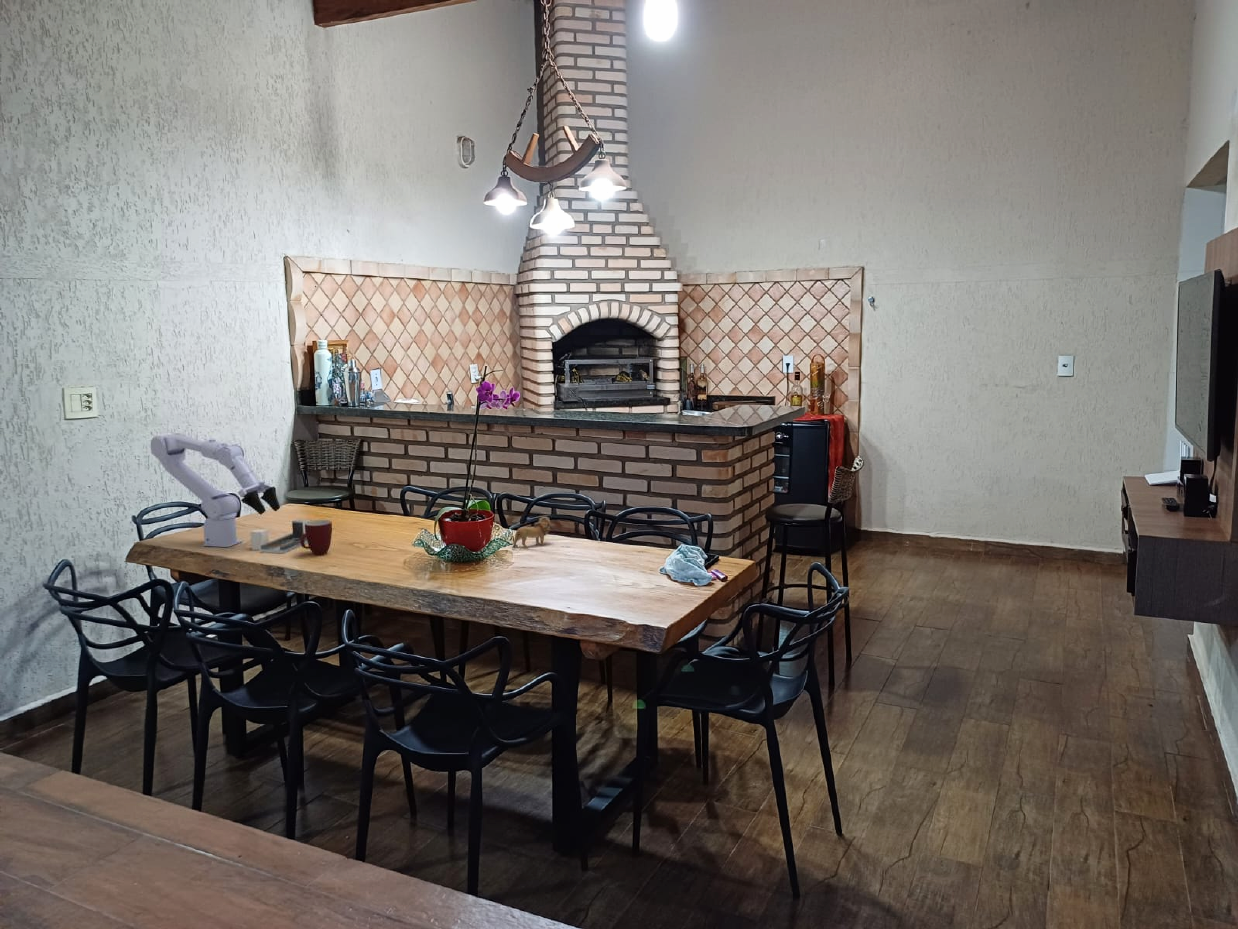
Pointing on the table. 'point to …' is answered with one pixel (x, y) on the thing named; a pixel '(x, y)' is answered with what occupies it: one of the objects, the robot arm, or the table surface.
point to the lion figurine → (533, 532)
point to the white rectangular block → (258, 538)
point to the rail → (287, 539)
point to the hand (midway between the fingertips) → (270, 511)
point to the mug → (317, 536)
